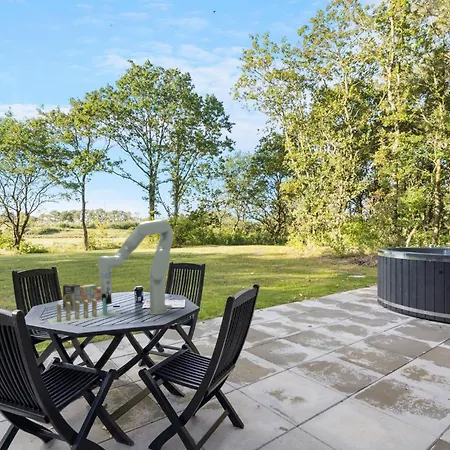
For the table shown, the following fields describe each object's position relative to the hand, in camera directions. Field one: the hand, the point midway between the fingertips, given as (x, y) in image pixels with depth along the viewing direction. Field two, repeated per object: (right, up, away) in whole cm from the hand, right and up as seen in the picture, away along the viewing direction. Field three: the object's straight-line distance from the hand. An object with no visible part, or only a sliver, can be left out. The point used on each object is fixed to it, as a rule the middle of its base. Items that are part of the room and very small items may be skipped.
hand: (106, 302), depth 227 cm
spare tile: (-1, -7, 0) cm, 8 cm away
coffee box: (-29, -8, +17) cm, 35 cm away
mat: (-11, -8, -7) cm, 15 cm away
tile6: (-23, -7, -15) cm, 28 cm away
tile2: (-6, -7, -4) cm, 10 cm away
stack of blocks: (-24, -8, +43) cm, 50 cm away
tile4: (-15, -7, -9) cm, 19 cm away
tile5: (-19, -7, -12) cm, 24 cm away
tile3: (-10, -7, -7) cm, 14 cm away
